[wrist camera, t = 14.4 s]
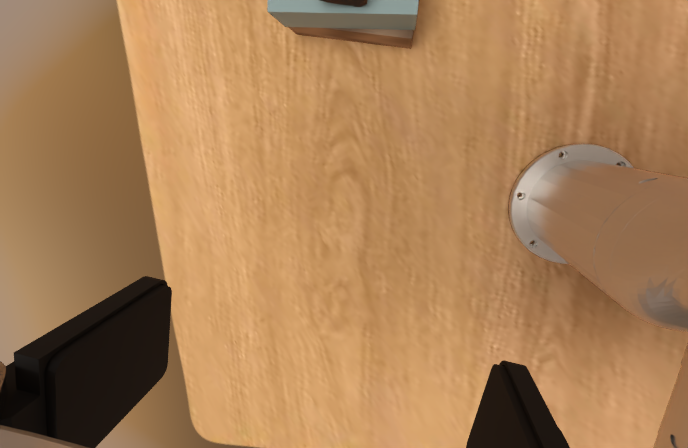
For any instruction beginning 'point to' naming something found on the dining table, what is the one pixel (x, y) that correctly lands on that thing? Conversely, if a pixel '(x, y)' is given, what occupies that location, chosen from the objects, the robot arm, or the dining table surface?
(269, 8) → the tower top
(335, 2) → the brick
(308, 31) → the tower base
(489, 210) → the dining table surface
